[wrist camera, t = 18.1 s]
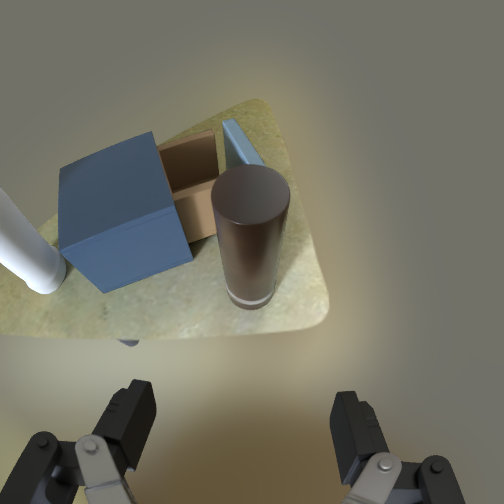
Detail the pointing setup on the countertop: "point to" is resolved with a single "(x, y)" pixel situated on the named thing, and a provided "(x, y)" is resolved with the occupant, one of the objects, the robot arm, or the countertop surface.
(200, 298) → the countertop surface
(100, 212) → the cabinet
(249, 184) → the pepper mill
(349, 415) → the robot arm
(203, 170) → the drawer
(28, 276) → the bottle
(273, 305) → the countertop surface
